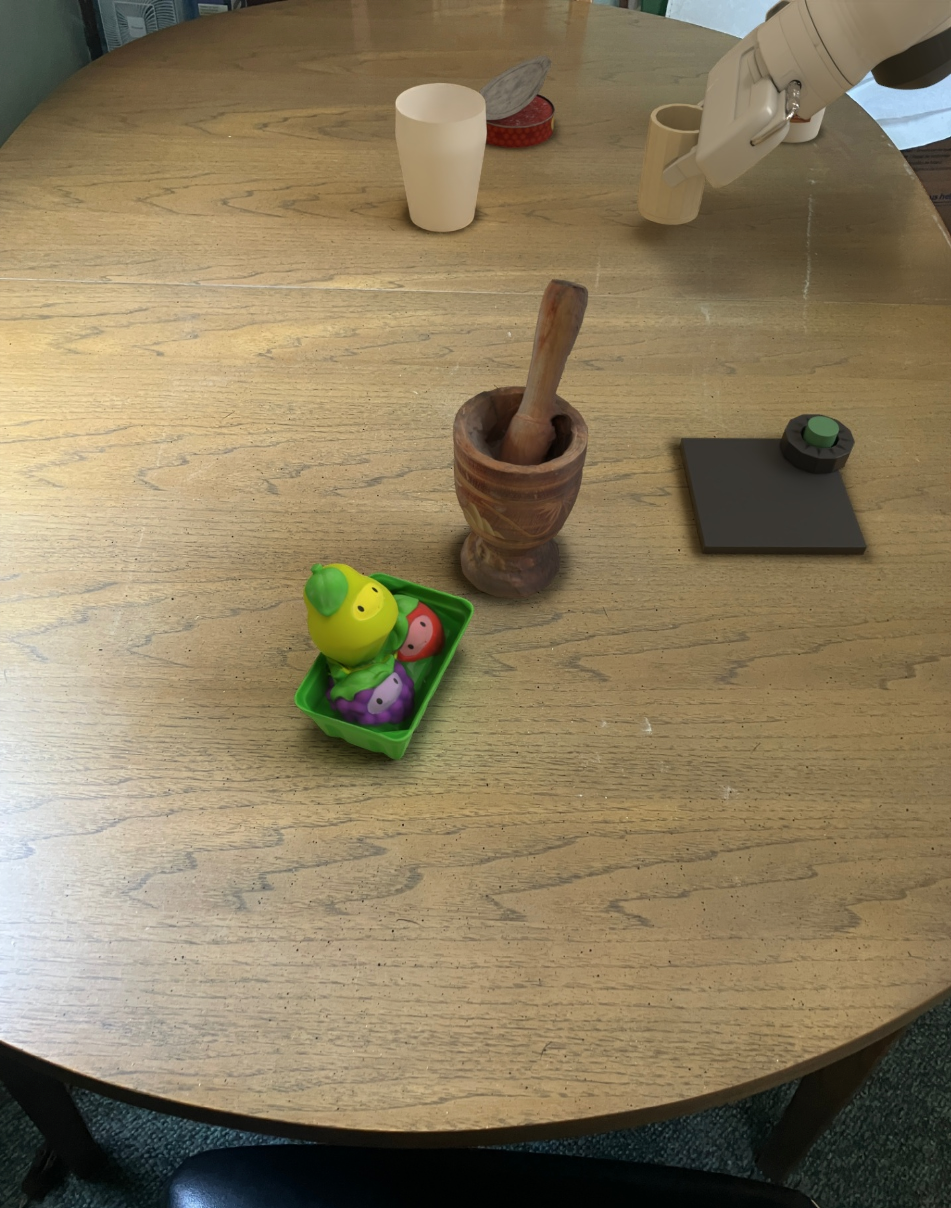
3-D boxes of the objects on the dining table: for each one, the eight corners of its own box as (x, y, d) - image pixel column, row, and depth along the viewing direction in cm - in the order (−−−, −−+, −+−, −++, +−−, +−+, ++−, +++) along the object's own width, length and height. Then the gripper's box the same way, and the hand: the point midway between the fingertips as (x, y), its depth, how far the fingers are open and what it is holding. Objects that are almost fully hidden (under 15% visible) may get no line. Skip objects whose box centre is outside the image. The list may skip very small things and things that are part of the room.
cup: (385, 210, 102) (378, 92, 92) (461, 191, 104) (461, 75, 95) (421, 251, 97) (418, 131, 87) (499, 230, 99) (504, 112, 90)
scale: (833, 442, 79) (844, 414, 77) (876, 559, 71) (890, 532, 68) (676, 441, 79) (682, 412, 77) (701, 559, 71) (709, 531, 68)
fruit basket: (409, 787, 58) (400, 684, 50) (282, 740, 60) (252, 633, 52) (477, 649, 65) (480, 536, 56) (361, 611, 67) (346, 496, 58)
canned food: (530, 190, 114) (521, 133, 104) (459, 159, 116) (445, 100, 107) (577, 115, 115) (573, 51, 105) (506, 85, 117) (496, 21, 108)
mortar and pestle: (462, 490, 75) (464, 259, 59) (572, 498, 74) (602, 268, 59) (447, 603, 68) (445, 374, 52) (568, 612, 67) (602, 385, 52)
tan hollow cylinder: (693, 194, 98) (711, 103, 91) (703, 225, 94) (722, 133, 87) (633, 193, 98) (647, 103, 91) (641, 224, 94) (655, 132, 87)
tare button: (829, 429, 76) (835, 416, 75) (837, 449, 75) (842, 436, 74) (800, 429, 76) (804, 415, 75) (806, 449, 75) (811, 436, 74)
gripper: (819, 144, 79) (679, 238, 87) (817, 48, 91) (695, 139, 100) (778, 81, 76) (638, 186, 85) (782, -9, 88) (660, 90, 97)
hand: (669, 160), depth 92 cm, fingers closed on tan hollow cylinder, 6 cm apart
